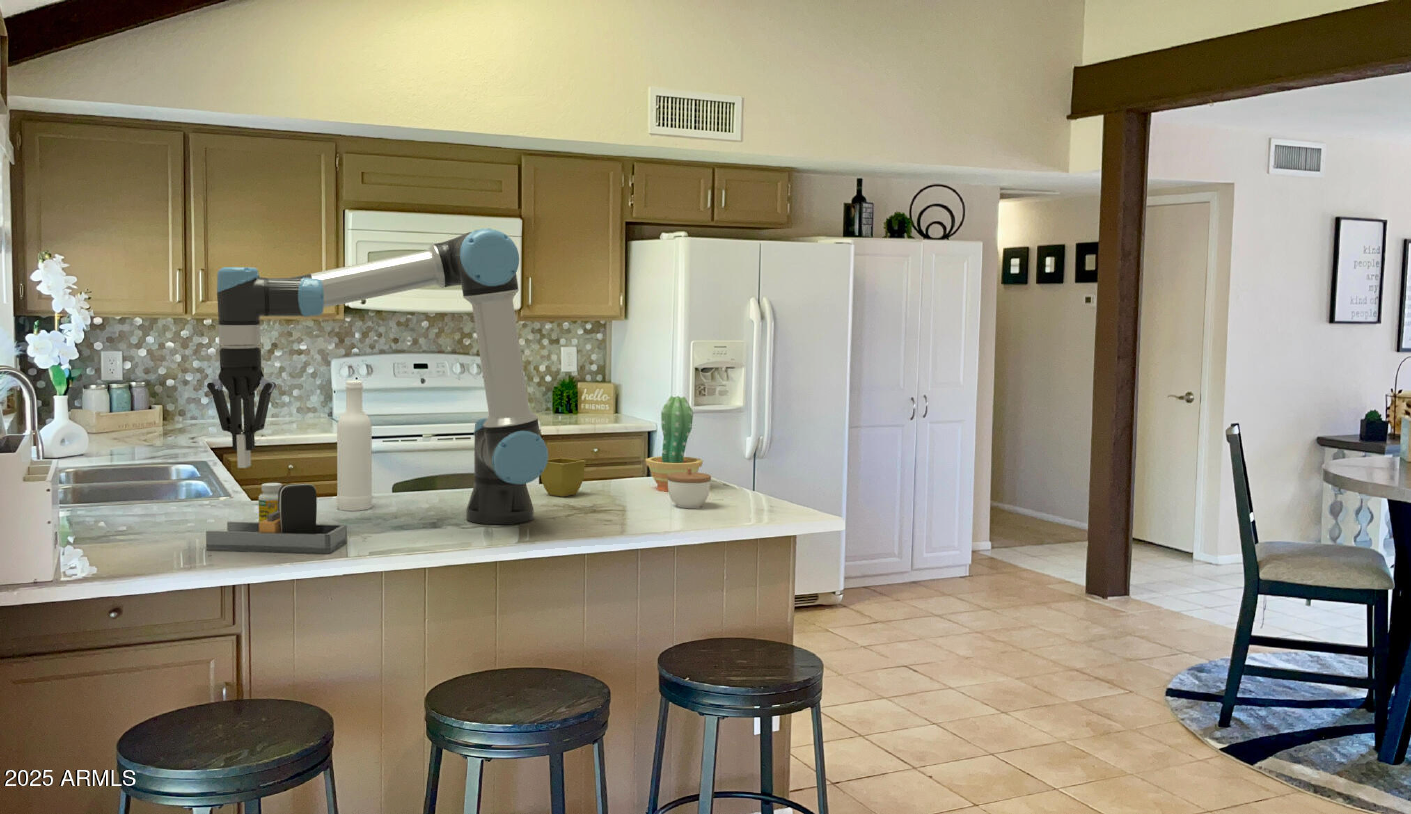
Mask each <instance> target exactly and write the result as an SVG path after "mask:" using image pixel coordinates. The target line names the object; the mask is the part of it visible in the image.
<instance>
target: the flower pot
mask: <svg viewBox="0 0 1411 814" xmlns="http://www.w3.org/2000/svg"><path fill="white" fill-rule="evenodd" d="M585 468H586V460H582V459H576V458H573V459H572V458H566V457H557V458H556V457H555V458H551V459H550V458H548V462H547V465H546V467H545V469H544V471H543V472H542V474H541V475H540V479H541V482H542V485H543V488H544V489H545V491H546V493H547V494H548V495H550V496H554V497H555V496H557V497H562V498H564V497H568V496H574V495H576V494H577V493H578V491H579V490H580V488H581V486H582V485H583V481H584V476H585Z"/></svg>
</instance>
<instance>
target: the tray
mask: <svg viewBox="0 0 1411 814" xmlns="http://www.w3.org/2000/svg"><path fill="white" fill-rule="evenodd" d="M226 523H227V525H226V526H227V527H226V529H227V530H206V531H205V543H206V544H205V548H206V549H205V550H206V551H214V552H215V551H217V552H218V551H220V552H221V551H222V552H252V553H253V552H254V553H257V552H258V553H282V554H283V553H285V554H287V553H288V554H292V553H293V554H316V555H317V554H321V555H322V554H325V555H329V554H331V553H333V552H335V551H336V550H338V549H340V548H341V547H343V546H344V545H346V544H347V543H348V541H347V540H348V537H347V536H348V533H347V531H348V529H347V527H348V525H347V524H330V523H329V524H327V523H326V524H323V523H316V534H304V533H269V532H259V521H258V522H251V521H250V522H249V521H227V522H226Z"/></svg>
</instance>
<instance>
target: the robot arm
mask: <svg viewBox="0 0 1411 814" xmlns="http://www.w3.org/2000/svg"><path fill="white" fill-rule="evenodd" d="M519 265H520V254H519V249H518V248H517V245H516V243H515V241H513V240H512V238H511V237H509V236H508V234H506V233H504V232H502V231H500V230H497V229H492V228H481V229H480V228H479V229H475V230H473V231H469V232H467V233H464V234H462V235H460V236H457V237H453V238H452V239H449V240H446V241H442V242H438V243H437V242H436V243H434V244H433V243H432V244H431V245H430V247H429V248H428V249H426V250H423V251H422V250H421V251H417V252H412V253H407V254H401V255H397V256H391V257H386V258H382V259H377V260H373V261H367V262H362V263H358V264H351V265H347V266H342V267H338V268H332V269H327V270H323V271H318V272H317V271H316V272H314V273H313V272H312V273H309V274H303V275H302V274H301V275H298V276H291V277H274V278H273V277H261V276H260V274H259V270H258V268H256V267H244V266H243V267H241V266H239V267H237V266H232V267H231V266H230V267H229V266H225V267H222V268H220V269H218V271H217V272H216V273H217V274H216V276H217V277H216V296H217V297H216V299H217V315H218V317H217V318H218V345H219V346H222V348H220V349H219V368H220V371H219V373H218V375H217V376H218V378H216V379H215V380H213V381H212V382H208V383H207V384H206V387H207V389H208V390H209V392H210V393H211V396H212V398H213V401H214V405H215V409H216V413H217V416H218V420H219V424H220V427H221V430H222V431H224V432H228V433H230V434H231V441H232V449H233V451H236V454H237V455H236V457H237V459H236V460H237V468H238V469H245V468H249V467H251V466H252V453H251V451H252V450H255V448H256V443H255V434H256V433H257V432H259V431H262V430H264V428H265V424H266V420H267V416H268V415H267V414H268V411H269V405H270V400H271V396H272V393H273V391H274V390H275V388H277V387H276V386H277V384H276V382H274V381H269V379H266V378H265V375H264V372H263V371H262V349H261V348H260V347H258V346H260V345H261V319H260V318H261V317H304V318H308V317H315V316H316V317H318V316H322V314H323V313H324V310H325V308H329V307H335V306H340V305H345V304H348V303H349V304H350V303H353V302H354V303H355V302H359V301H362V300H368V299H372V298H378V297H382V296H387V295H392V294H397V293H402V292H407V291H411V290H416V289H422V288H427V287H431V286H437V287H439V288H441V289H445V288H448V287H449V288H450V287H455V286H461V290H462V297H463V299H465V300H466V301H467V302H469V304H470V305H471V306H472V315H473V320H474V327H475V332H476V340H477V346H478V352H479V359H480V365H481V371H482V376H483V378H482V379H483V383H484V384H483V385H484V389H485V391H484V392H485V397H486V403H487V410H488V411H487V412H488V417H487V418H480V419H477V420H476V421H475V423H474V431H473V436H474V445H473V446H474V448H473V449H474V453H473V454H474V456H473V457H474V458H473V459H474V462H473V463H474V471H473V473H474V474H473V475H474V478H473V480H474V482H473V484H474V485H473V488H472V491H471V494H470V497H469V500H468V503H467V506H466V509H465V510H466V512H465V517H466V521H469V522H472V523H474V524H475V523H476V524H484V525H513V524H514V525H515V524H520V523H521V524H522V523H527V522H530V521H533V519H534V517H535V513H534V511H535V509H534V505H533V502H532V500H531V499H532V498H531V497H530V492H529V489H528V487H527V484H528V483H531V482H533V481H535V480H537V478H539V477H541V474H542V472H543V471H544V469H545V467H546V465H547V462H548V460H549V451H548V447H547V444H546V442H545V440H544V439H543V438H542V436H541V431H540V425H539V419H538V415H536V413H534V412H532V410H530V407H529V399H528V392H527V385H526V379H525V374H524V366H523V359H522V353H521V345H520V338H519V332H518V327H517V320H516V313H515V305H514V298H515V296H516V295H517V293H519V283H518V276H517V272H518V270H519ZM259 386H260V390H261V391H260V393H259V398H258V402H257V408H256V412H255V398H256V391H257V389H258V388H259ZM223 388H225V390H226V391H227V392H228V400H229V406H228V402H227V400H226V399H227V398H226V396H225V395H226V394H225V392H224V390H223ZM242 410H243V411H242ZM242 415H243V416H242Z"/></svg>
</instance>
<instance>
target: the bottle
mask: <svg viewBox="0 0 1411 814" xmlns="http://www.w3.org/2000/svg"><path fill="white" fill-rule="evenodd" d="M363 388H364V386H363V381H362V380H354V379H353V380H346V382H345V400H346V401H345V402H346V403H345V405H346V407H345V408H346V409H345V411H344V412H343V413H342V414H341V415H340V416H339V419H338V421H337V425H336V430H337V431H336V440H337V441H336V443H337V444H336V447H337V448H336V451H337V452H336V454H337V455H336V457H337V459H336V463H337V465H336V467H337V469H336V473H337V474H336V476H337V478H336V479H337V485H336V487H337V493H336V494H337V495H336V502H337V509H338V510H339V511H344V512H360V511H367V510H370V509H372V507H373V504H372V503H373V493H372V491H373V485H372V482H373V481H372V480H373V477H372V475H373V474H372V473H373V472H372V468H373V466H372V464H373V462H372V461H373V460H372V459H373V457H372V456H373V455H372V450H373V449H372V448H373V447H372V445H373V444H372V443H373V442H372V441H373V440H372V437H373V436H372V432H373V431H372V427H373V426H372V423H371V420H370V417H369V416H368V415H367V414H366V413H365V412H364V411H363V390H364V389H363Z"/></svg>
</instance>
